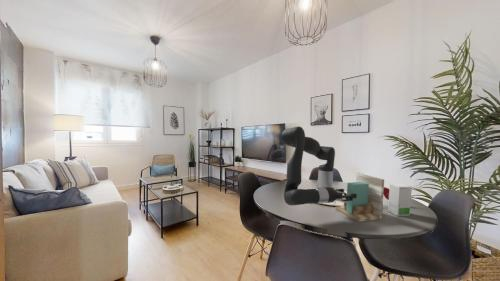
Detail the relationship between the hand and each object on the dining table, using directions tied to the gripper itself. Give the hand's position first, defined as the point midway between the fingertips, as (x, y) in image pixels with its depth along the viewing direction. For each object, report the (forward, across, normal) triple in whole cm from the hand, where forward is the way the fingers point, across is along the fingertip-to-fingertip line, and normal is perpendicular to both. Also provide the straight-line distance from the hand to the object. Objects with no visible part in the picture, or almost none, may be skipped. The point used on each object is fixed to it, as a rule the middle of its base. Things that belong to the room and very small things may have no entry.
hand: (349, 193), depth 107 cm
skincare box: (+29, -5, +12) cm, 32 cm away
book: (+5, 0, +10) cm, 11 cm away
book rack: (+6, 0, +12) cm, 13 cm away
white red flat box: (+42, +6, +12) cm, 43 cm away
